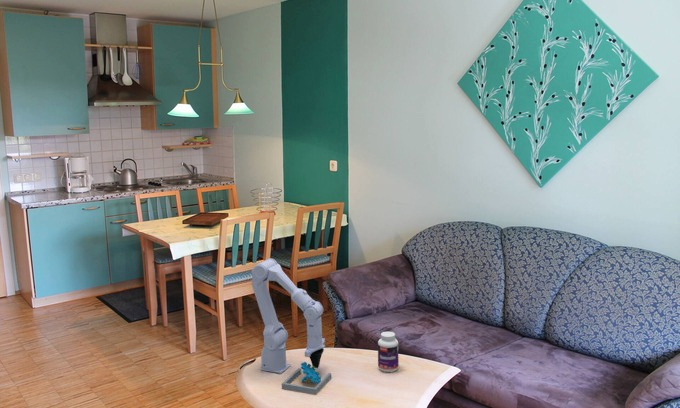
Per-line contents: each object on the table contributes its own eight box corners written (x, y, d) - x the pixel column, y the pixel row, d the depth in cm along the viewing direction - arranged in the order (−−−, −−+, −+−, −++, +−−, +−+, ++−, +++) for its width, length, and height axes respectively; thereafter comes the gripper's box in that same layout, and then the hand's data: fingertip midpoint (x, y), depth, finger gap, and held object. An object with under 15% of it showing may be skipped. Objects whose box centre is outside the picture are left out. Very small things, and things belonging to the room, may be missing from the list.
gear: (319, 385, 219) (300, 365, 220) (308, 395, 220) (289, 375, 221) (325, 375, 230) (307, 356, 231) (314, 386, 231) (296, 367, 232)
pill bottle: (377, 372, 231) (376, 337, 229) (378, 364, 239) (378, 330, 237) (398, 373, 230) (397, 338, 228) (399, 364, 238) (398, 330, 236)
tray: (281, 388, 221) (281, 383, 220) (298, 372, 233) (298, 368, 233) (316, 394, 215) (315, 389, 215) (331, 378, 228) (331, 373, 228)
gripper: (316, 342, 221) (317, 376, 223) (331, 328, 234) (332, 361, 236) (299, 339, 224) (300, 373, 226) (315, 326, 237) (316, 358, 239)
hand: (315, 367), depth 231 cm, fingers closed
